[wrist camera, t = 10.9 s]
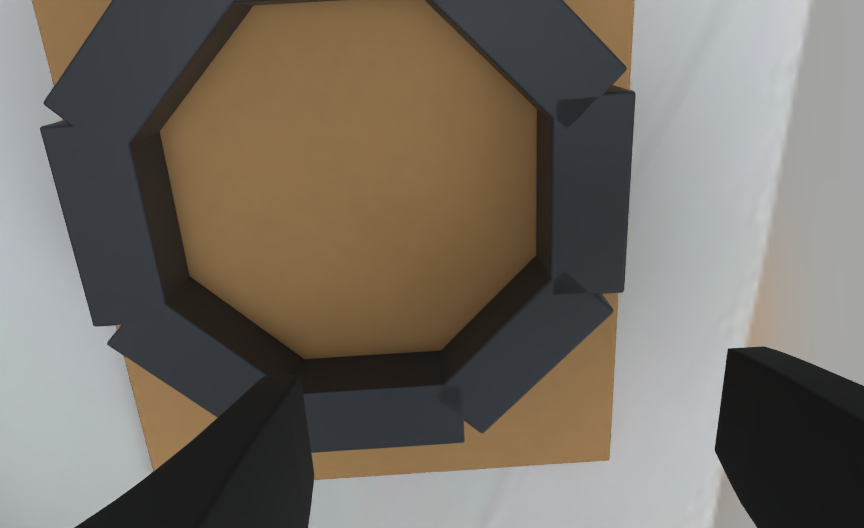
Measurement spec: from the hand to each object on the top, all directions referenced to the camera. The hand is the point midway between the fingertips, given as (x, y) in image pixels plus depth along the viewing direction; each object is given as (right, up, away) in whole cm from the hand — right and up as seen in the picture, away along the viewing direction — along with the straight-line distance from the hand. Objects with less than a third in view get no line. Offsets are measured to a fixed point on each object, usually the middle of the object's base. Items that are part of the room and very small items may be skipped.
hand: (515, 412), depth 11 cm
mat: (-4, +5, +7) cm, 9 cm away
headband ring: (-4, +4, +7) cm, 9 cm away
